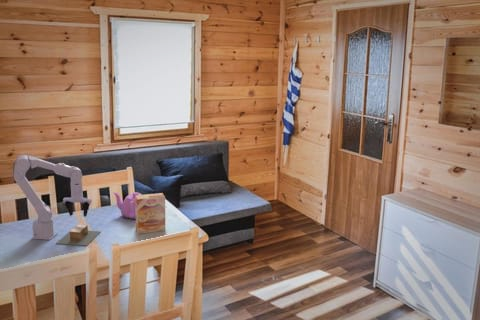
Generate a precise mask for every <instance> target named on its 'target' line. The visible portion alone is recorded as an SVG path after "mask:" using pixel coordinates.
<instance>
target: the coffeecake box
mask: <svg viewBox="0 0 480 320" xmlns="http://www.w3.org/2000/svg"><path fill="white" fill-rule="evenodd" d="M135 213H136V219H135V230H136V233H137V235H139V234H148V233H157V232H164V231H166V196H165V195H164V193H163V192H159V193H158V192H157V193H147V194H142V195H135Z"/></svg>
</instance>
